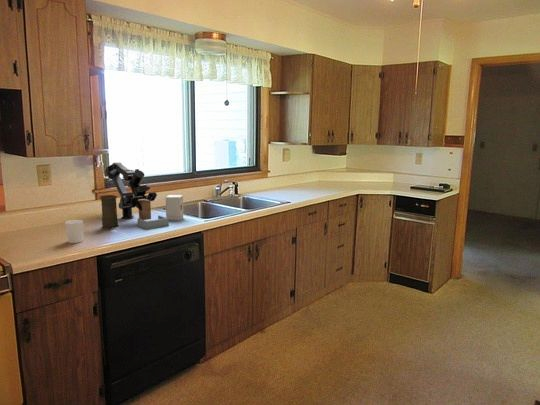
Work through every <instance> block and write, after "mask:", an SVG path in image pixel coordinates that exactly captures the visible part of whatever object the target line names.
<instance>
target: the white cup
mask: <svg viewBox="0 0 540 405" xmlns="http://www.w3.org/2000/svg"><path fill="white" fill-rule="evenodd" d="M65 229H66V230H65V231H66V236H67V242H68V243H69V244H77V243H81V242H82V243H83V241H84V220H83V219H72V220H68V221H67V220H66V221H65Z"/></svg>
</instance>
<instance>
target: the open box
mask: <svg viewBox="0 0 540 405" xmlns="http://www.w3.org/2000/svg"><path fill="white" fill-rule="evenodd" d="M169 224H170V222H169V220H168V218H166V216H162V215H157V219H154V220H142V219H139V217H138V218H137V227H140V228H142V229H145V230H151V229H157V228H163V227H168V226H169Z"/></svg>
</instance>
